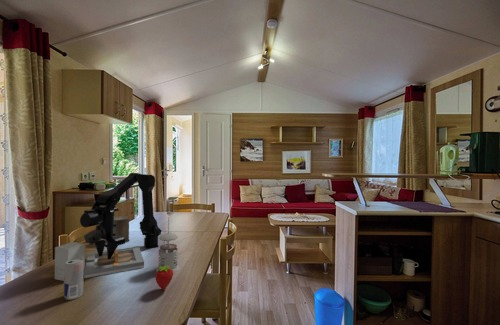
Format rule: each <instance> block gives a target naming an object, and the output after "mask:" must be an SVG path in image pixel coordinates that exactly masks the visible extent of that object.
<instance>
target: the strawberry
mask: <svg viewBox="0 0 500 325" xmlns="http://www.w3.org/2000/svg"><path fill="white" fill-rule="evenodd" d="M169 267H170V266H166V265H165V266H163V267H160V268H158V267H157V268H158V269H160V270H158V272H157V271H156V273H155V277H154V278H155V282H156V284H157V285H158V287H159V288H160V289H161V291H165V290H166V289H167V287H168V286H169V285H170V283H171V281H172V279H173V276H174V272H173V270H172V269H171V268H169Z"/></svg>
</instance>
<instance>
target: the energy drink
mask: <svg viewBox="0 0 500 325" xmlns="http://www.w3.org/2000/svg"><path fill="white" fill-rule="evenodd" d="M83 270H84V262H83V259H80V258H77V259H71V260H68V261H66V263H65V270H64V281H63V284H64V285H63V298H64V300H67V301H72V300H76V299H78V298H80V297H81V296H83V294H84V275H83Z"/></svg>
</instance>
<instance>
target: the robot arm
mask: <svg viewBox="0 0 500 325" xmlns="http://www.w3.org/2000/svg"><path fill="white" fill-rule="evenodd" d="M136 183H137V184H138V188H139V189H140V190H141V194H142V195H141V196H142V211H143V218H142V219H141V221H139V230H140V232H141V234H142V236H145V237H143V246H144V247H145V249H151V248H158V247H159V248H160V245H159V237H160V236H161V235H162V229H161V228H159V226H158V221H157V219H156V218H155V216H154V202H153V201H154V200H153V198H154V197H153V190H154V188H155V186H156V177H155V176H154V174H142V173H139V172H130V173H129V174H128V175H127V177H125V178H124V179H122V180H121V181H120V182H119V183H118V184H117V185H116V186H114V187H113V188H111V189H110V190H109V189H108V190H106V191H104V192H101V193H100V194H99V195H98V196H97V197H96V198H97V199H96V200H95V202H94V204H93V205H92V207H91V208H90V209H86V210H84V212H83V214H82V215H81V216H80V217H79V223H80V225H81V227H82V228H90V227H94V226H95V229H93V230H92V231H91V230H90V231H89V232H87V233H86V234H84V235H83V238H84V241H85V244H89V245H94V246H95V248H96V253H97V252H98V255H99V257H100V256H102V254H103V252H104V251H105V248H106V251H107V258H108V259H111V257H112V255H113V253H114V252H115V250H117V248H118V246H121V245H124V244H126V242H125V241H126V239H125V238H124V237H121V236H116V237H113V236H115V234H116V233H113V230H114V227H116V224H114V217H115V212H119V210H120V209H118V207H116V206H117V205H118V203H119V202H120V201H121V197H122V196H123V195H124V194H125V193H126V192H127V191H128V190H129V189H131V187H133V186H134V185H135V184H136Z"/></svg>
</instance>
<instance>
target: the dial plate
mask: <svg viewBox="0 0 500 325" xmlns="http://www.w3.org/2000/svg"><path fill="white" fill-rule="evenodd" d="M116 250H117V251H118V252H127V253H130V254H132V260H131V261H129V262H123V263H114V264H111V265H105V266H99V265H98V264H97V260H98V258H100V257H102V256H104V255H107V250H106V251H105V250H104V251H103V254H102V256H100V257H99V255H98V252H97V251H96V252H91V253H90V252H89V253H88V254H87V257H86V260H85V271H84V275H83V279H88V278H92V277H93V278H94V277H98V276H99V277H100V276H103V275H104V276H105V275H111V274H115V273H116V274H117V273H121V272H122V273H123V272H126V271H131V270H132V271H133V270H137V269H143V268H144V267H145V260H144V257H143V255H142V252H141V249H140V247H139V246H134V247H127V248H119V249H116ZM116 250H115V251H116Z"/></svg>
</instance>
